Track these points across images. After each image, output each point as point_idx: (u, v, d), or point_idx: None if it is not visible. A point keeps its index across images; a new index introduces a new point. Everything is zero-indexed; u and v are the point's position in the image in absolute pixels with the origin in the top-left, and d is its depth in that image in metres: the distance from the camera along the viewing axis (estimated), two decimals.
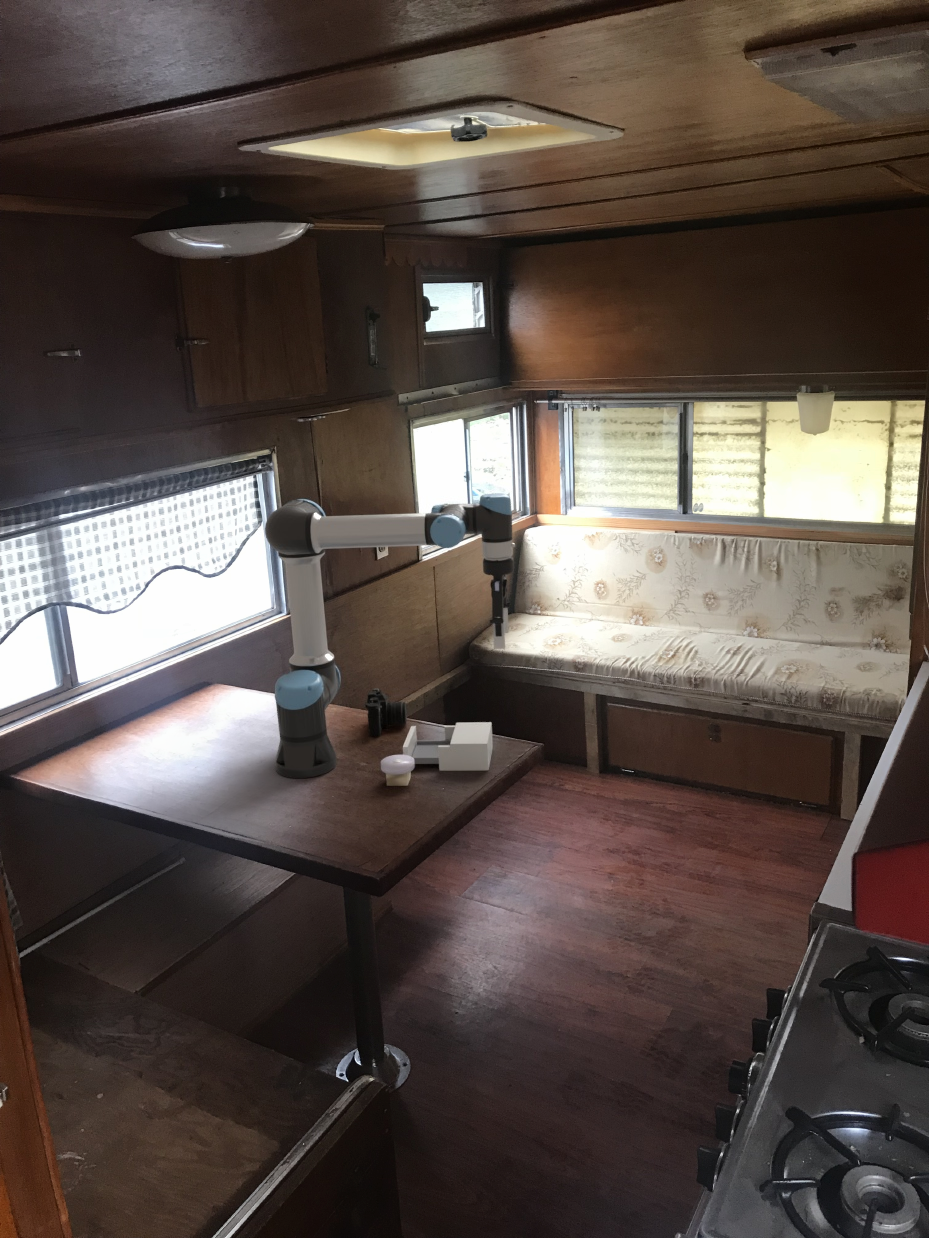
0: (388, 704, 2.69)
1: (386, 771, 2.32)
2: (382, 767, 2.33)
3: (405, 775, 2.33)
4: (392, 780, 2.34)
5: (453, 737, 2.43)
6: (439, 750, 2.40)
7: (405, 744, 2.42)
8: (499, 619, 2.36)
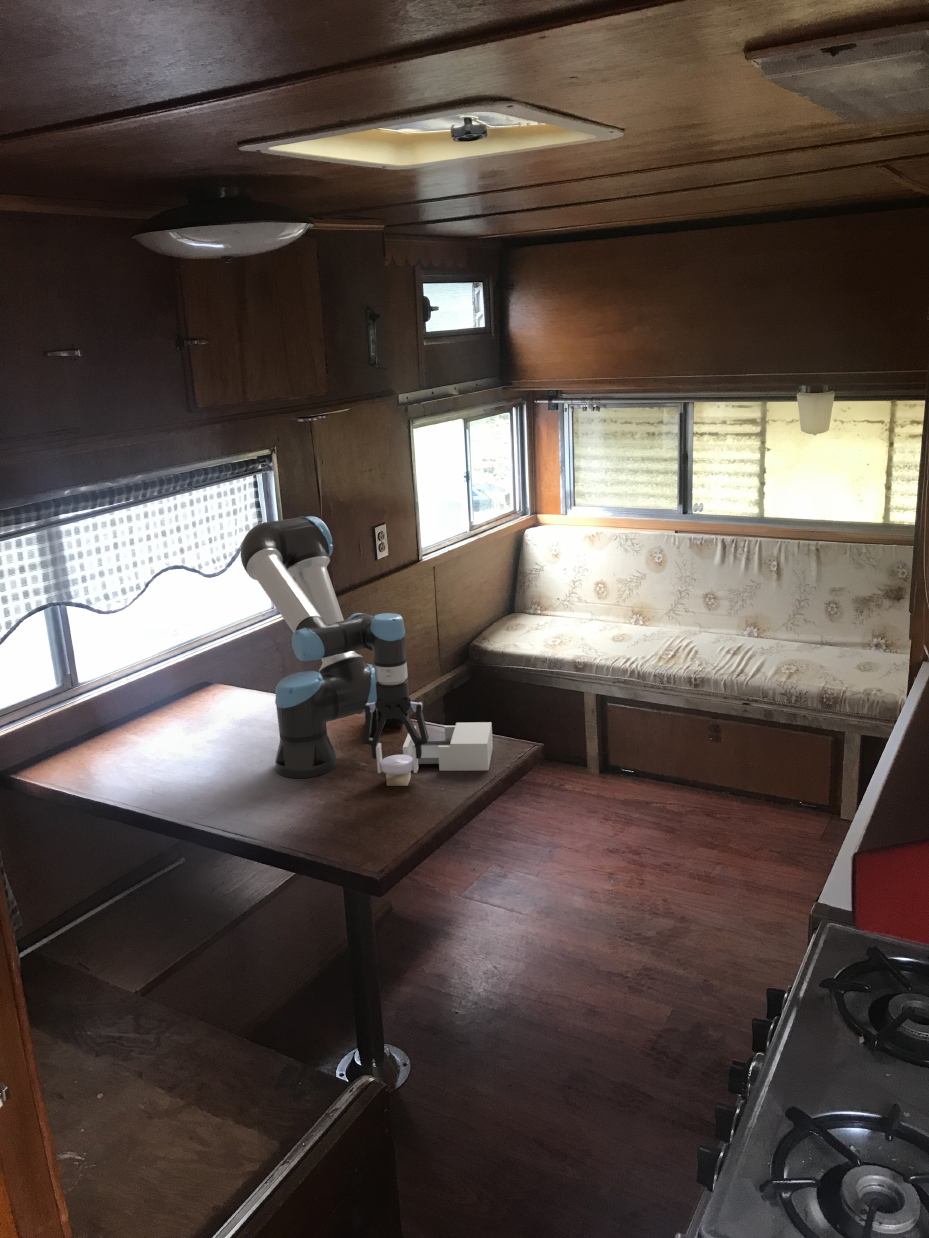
0: None
1: (386, 771, 2.32)
2: (382, 767, 2.33)
3: (405, 775, 2.33)
4: (392, 780, 2.34)
5: (453, 737, 2.43)
6: (439, 750, 2.40)
7: (405, 744, 2.42)
8: (364, 740, 2.34)
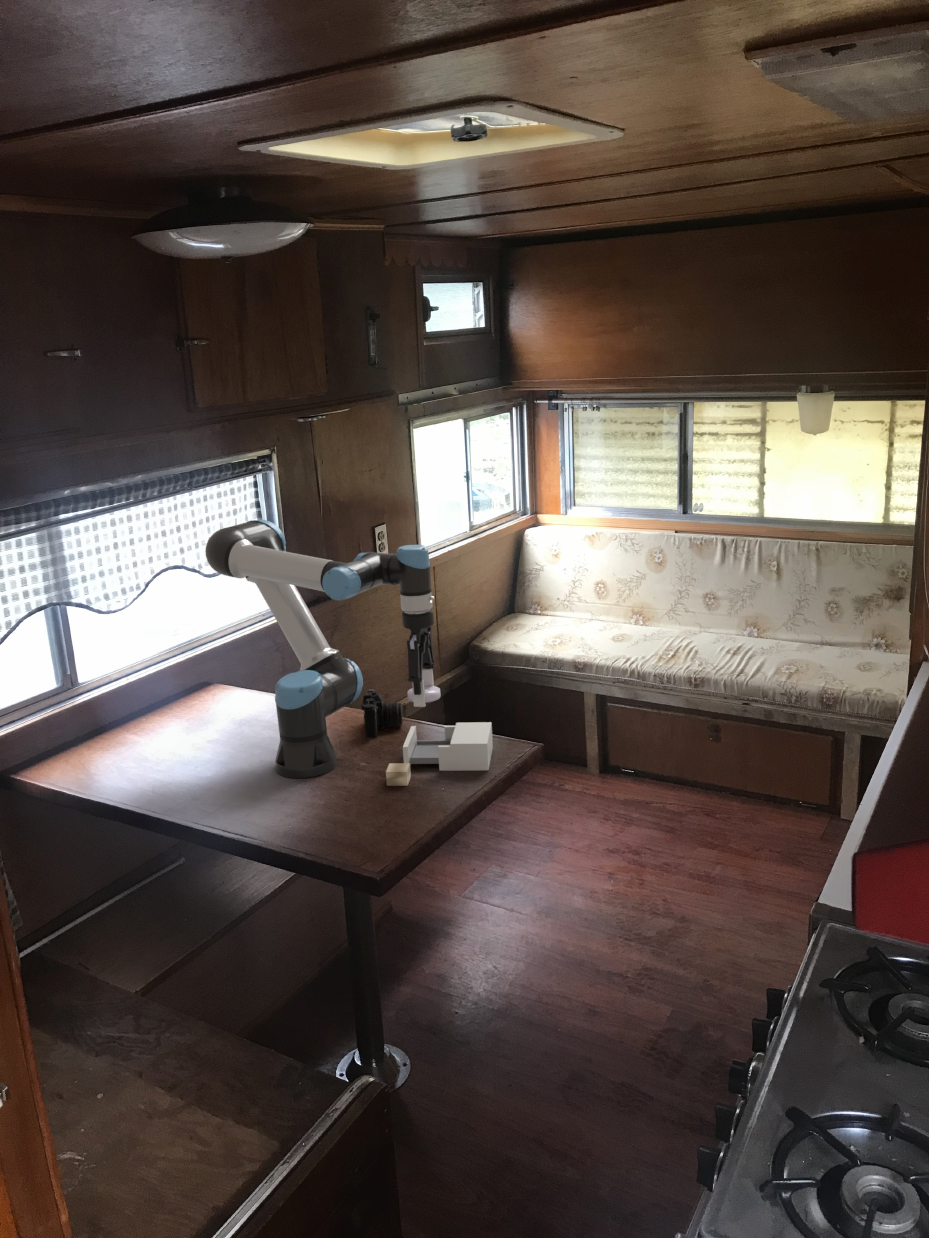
0: (384, 705, 2.69)
1: (435, 698, 2.38)
2: (429, 698, 2.38)
3: (405, 775, 2.33)
4: (392, 780, 2.34)
5: (453, 737, 2.43)
6: (439, 750, 2.40)
7: (405, 744, 2.42)
8: (415, 679, 2.32)
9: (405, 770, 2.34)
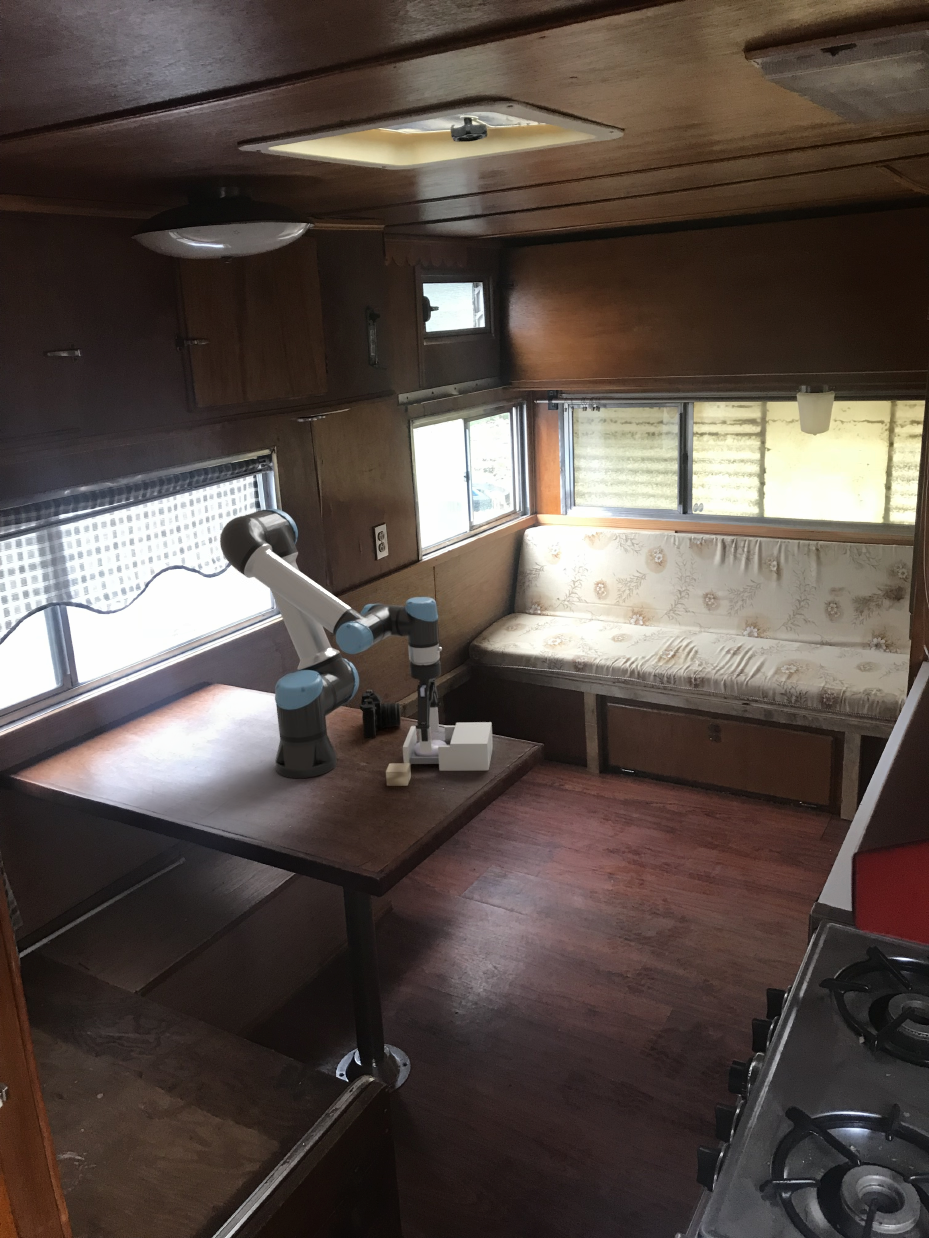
0: (382, 705, 2.69)
1: None
2: (437, 753, 2.44)
3: (405, 775, 2.33)
4: (392, 780, 2.34)
5: (453, 737, 2.43)
6: (439, 750, 2.40)
7: (405, 744, 2.42)
8: (424, 725, 2.35)
9: (405, 770, 2.34)
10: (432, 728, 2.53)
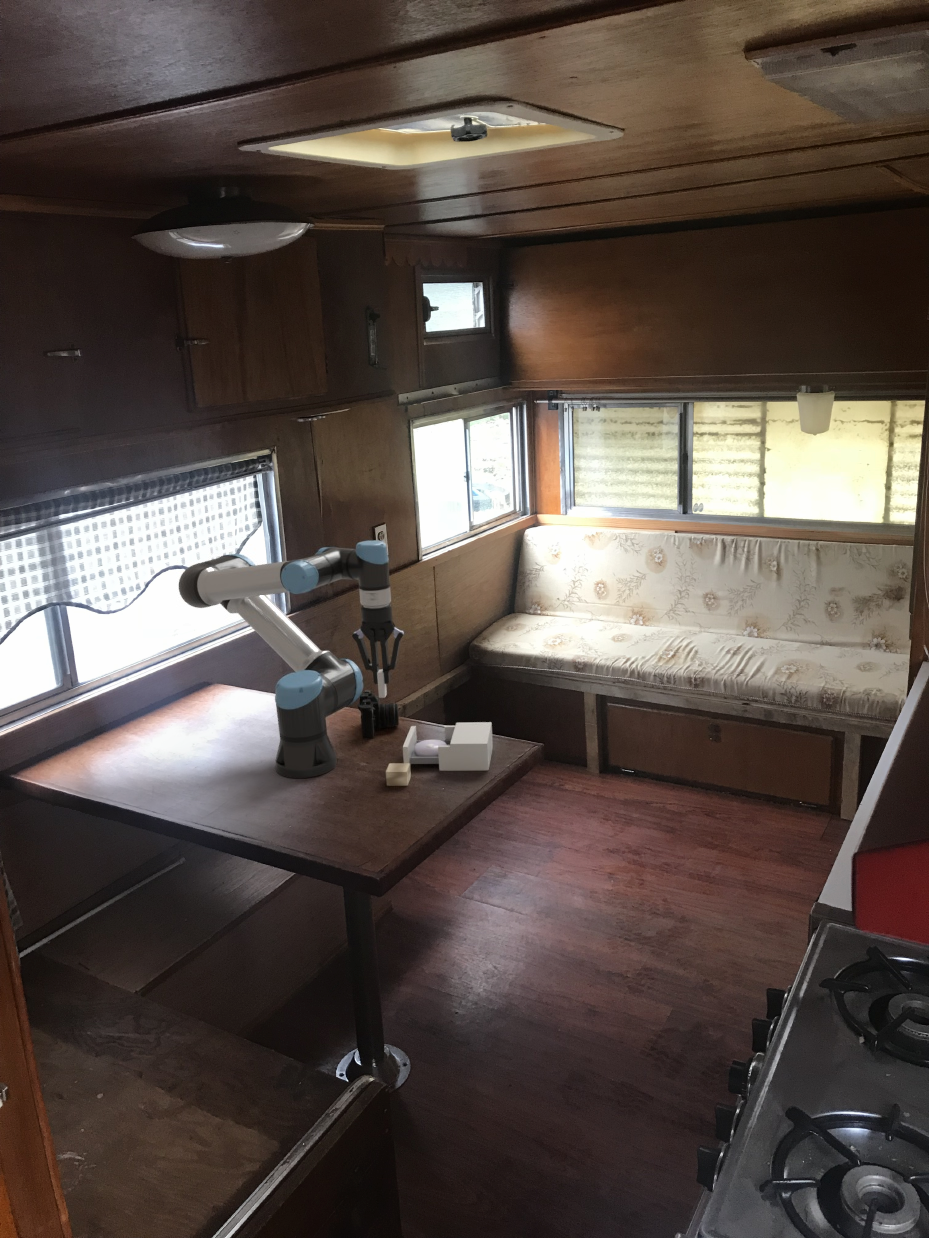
0: (380, 706, 2.69)
1: None
2: (437, 753, 2.44)
3: (405, 775, 2.33)
4: (392, 780, 2.34)
5: (453, 737, 2.43)
6: (439, 750, 2.40)
7: (405, 744, 2.42)
8: None
9: (405, 770, 2.34)
10: None
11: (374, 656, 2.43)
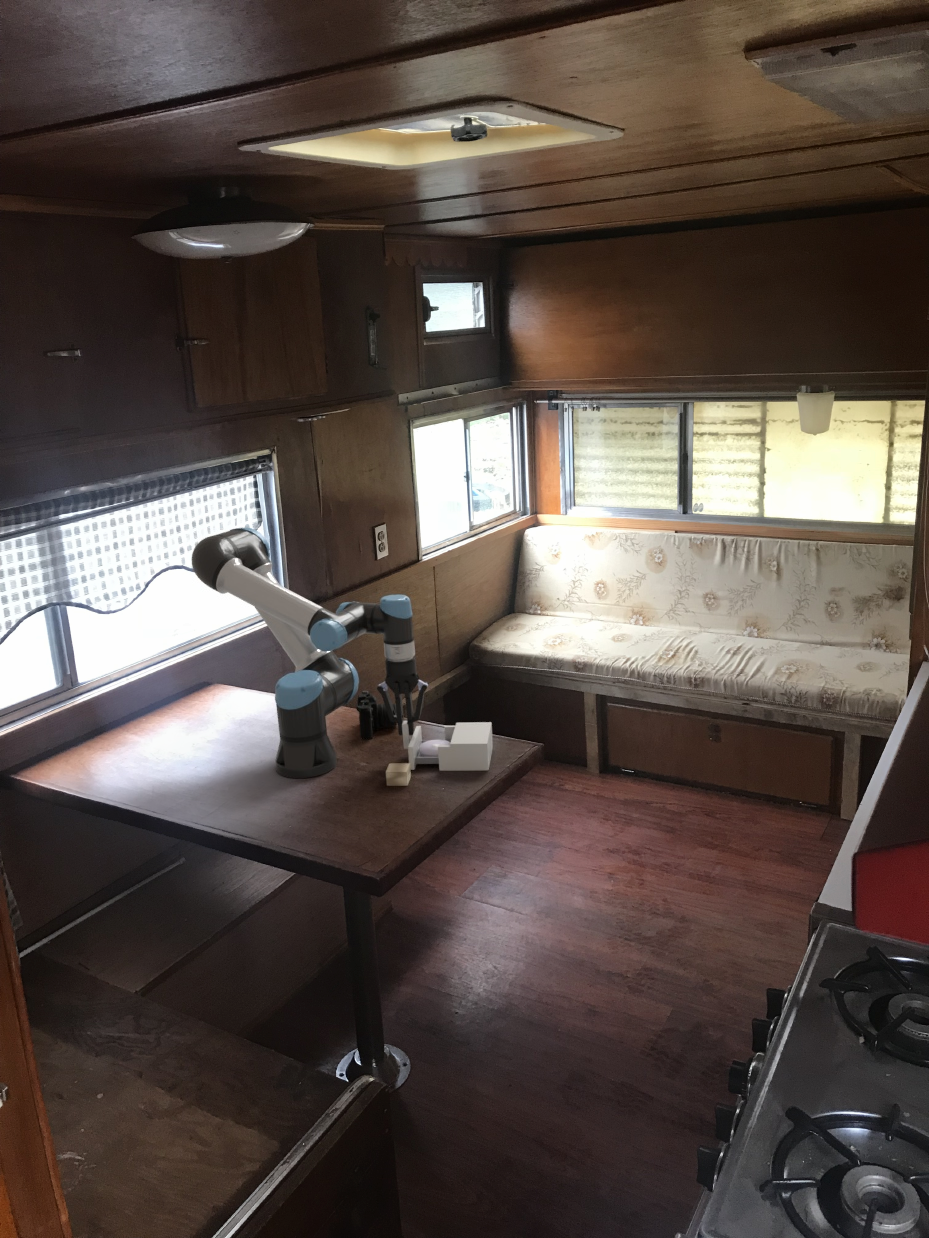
0: (378, 706, 2.68)
1: None
2: None
3: (405, 775, 2.33)
4: (392, 780, 2.34)
5: (453, 737, 2.43)
6: (439, 750, 2.40)
7: (410, 744, 2.42)
8: None
9: (405, 770, 2.34)
10: None
11: (399, 708, 2.46)
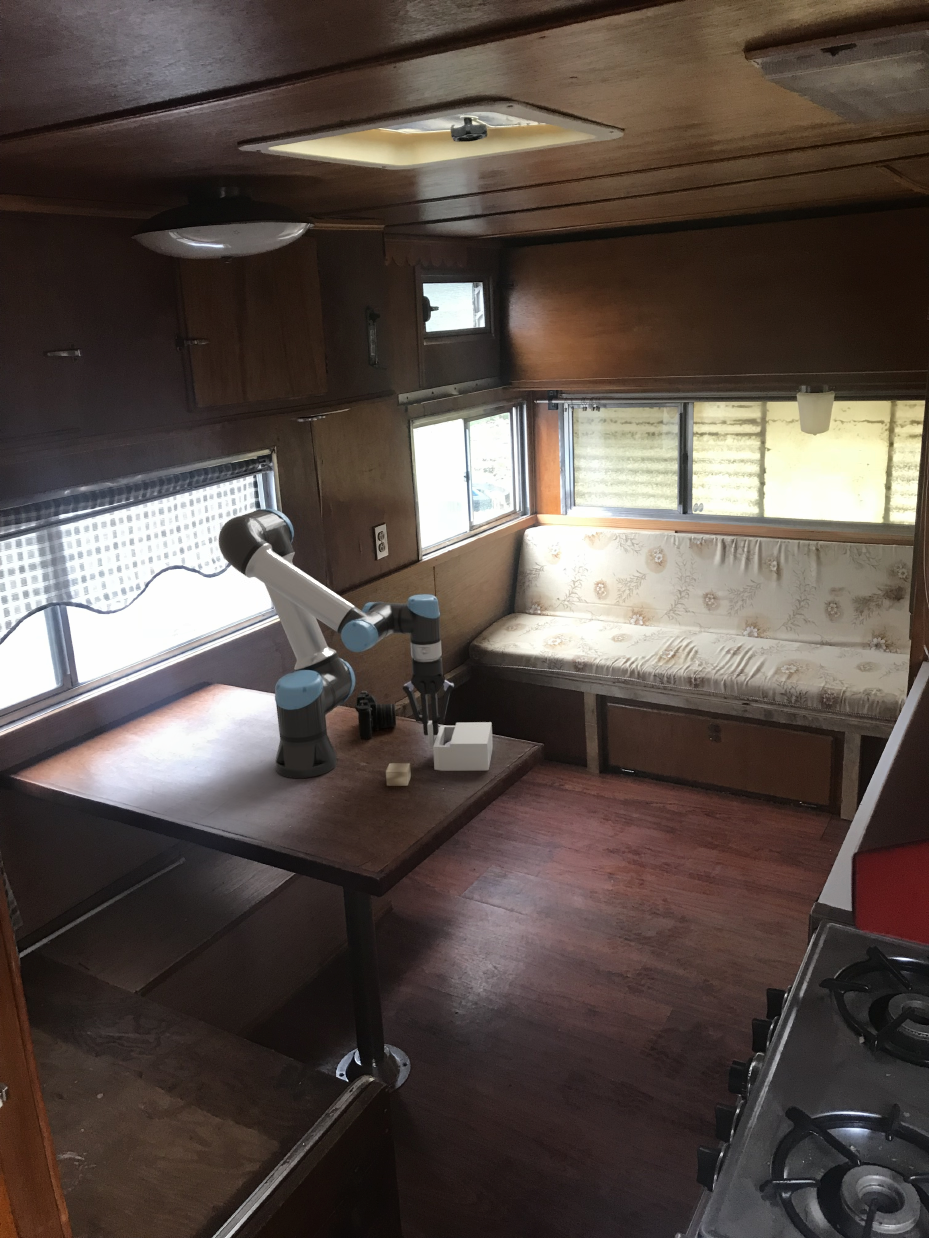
0: (378, 706, 2.68)
1: None
2: None
3: (405, 775, 2.33)
4: (392, 780, 2.34)
5: (453, 737, 2.43)
6: (439, 750, 2.40)
7: (435, 744, 2.41)
8: None
9: (405, 770, 2.34)
10: None
11: (424, 708, 2.45)
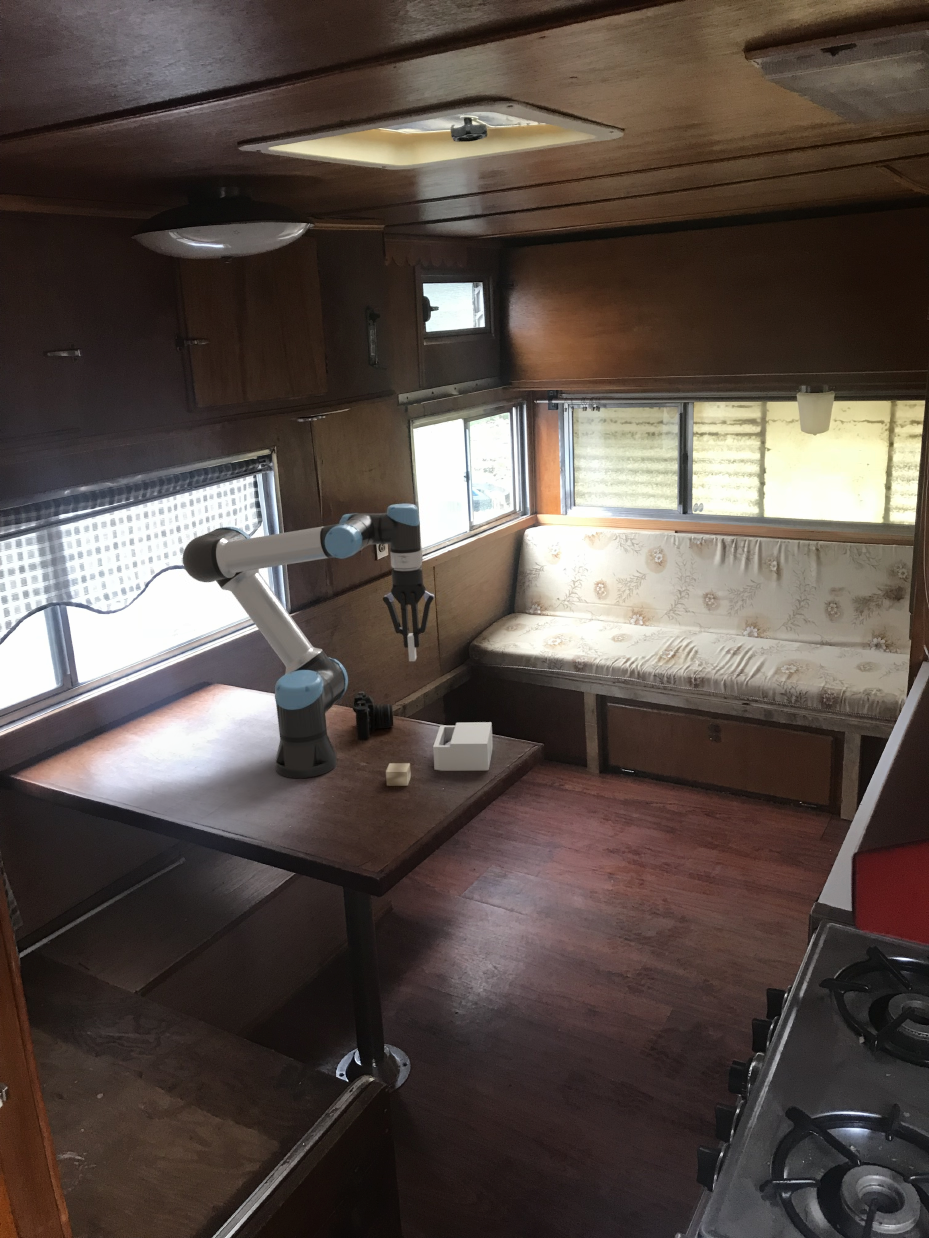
0: (375, 707, 2.68)
1: None
2: None
3: (405, 775, 2.33)
4: (392, 780, 2.34)
5: (453, 737, 2.43)
6: (439, 750, 2.40)
7: (435, 744, 2.41)
8: None
9: (405, 770, 2.34)
10: None
11: (404, 619, 2.44)
